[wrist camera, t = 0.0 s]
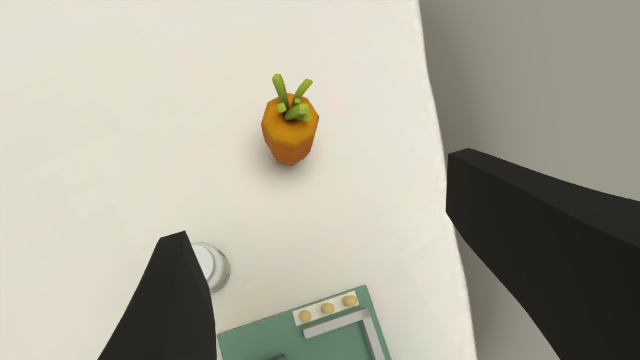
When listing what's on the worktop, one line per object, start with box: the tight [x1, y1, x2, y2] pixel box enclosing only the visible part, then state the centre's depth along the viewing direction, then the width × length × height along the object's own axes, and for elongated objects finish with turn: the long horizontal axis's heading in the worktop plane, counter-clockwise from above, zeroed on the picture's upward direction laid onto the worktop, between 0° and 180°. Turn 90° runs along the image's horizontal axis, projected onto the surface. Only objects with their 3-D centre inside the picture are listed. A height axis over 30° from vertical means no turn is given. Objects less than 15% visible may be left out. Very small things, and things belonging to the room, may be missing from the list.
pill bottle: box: [191, 243, 230, 294], centre depth 38 cm, size 4×4×8 cm
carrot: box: [261, 74, 319, 165], centre depth 38 cm, size 5×5×15 cm
